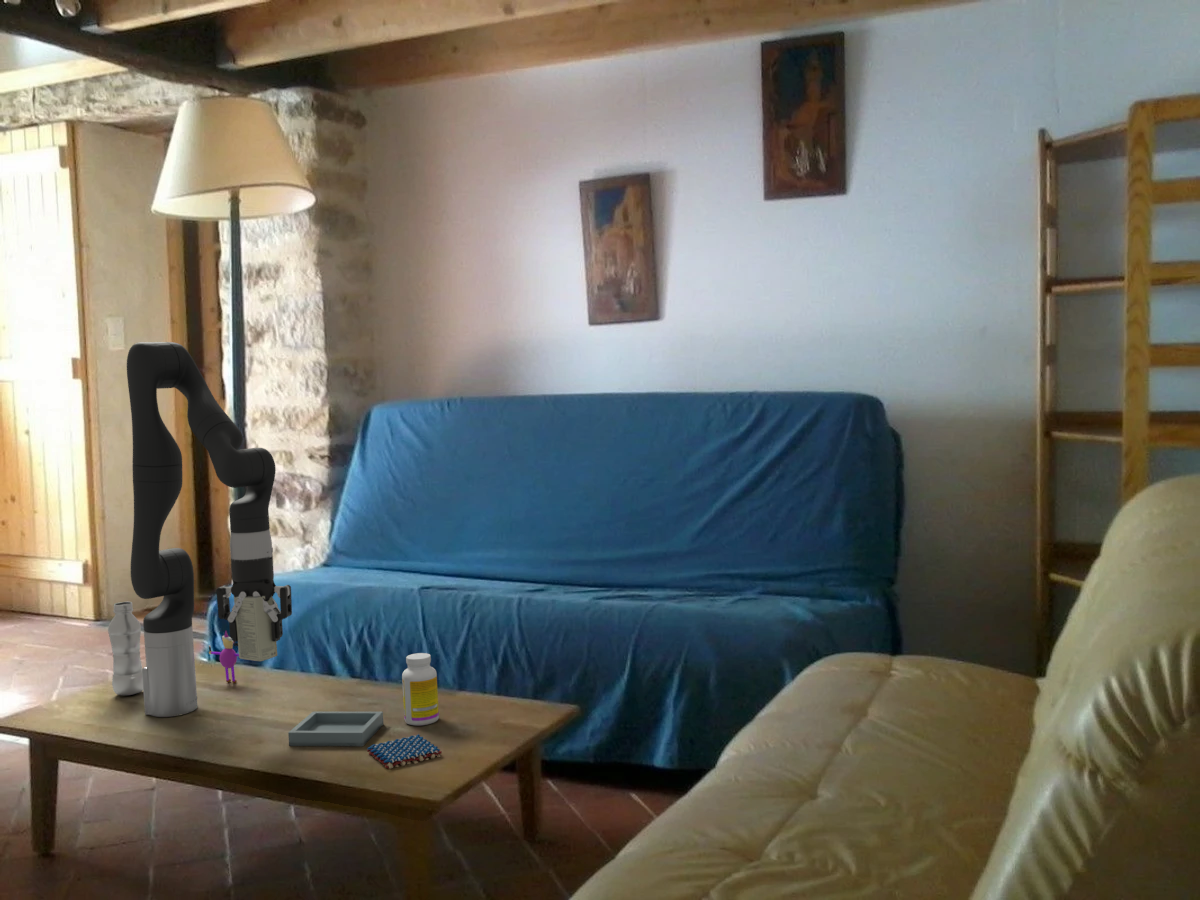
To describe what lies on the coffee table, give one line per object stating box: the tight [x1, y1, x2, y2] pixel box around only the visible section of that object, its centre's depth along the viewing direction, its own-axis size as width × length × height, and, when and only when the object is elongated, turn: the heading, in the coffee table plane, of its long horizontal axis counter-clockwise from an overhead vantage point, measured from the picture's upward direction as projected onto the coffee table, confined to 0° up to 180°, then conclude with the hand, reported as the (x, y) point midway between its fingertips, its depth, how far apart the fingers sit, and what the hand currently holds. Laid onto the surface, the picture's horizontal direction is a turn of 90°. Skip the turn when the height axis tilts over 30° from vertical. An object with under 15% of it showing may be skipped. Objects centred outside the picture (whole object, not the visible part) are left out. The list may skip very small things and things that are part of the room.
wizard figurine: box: [208, 630, 239, 684], centre depth 239 cm, size 11×3×12 cm, turn 66°
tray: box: [287, 711, 385, 747], centre depth 202 cm, size 14×12×2 cm
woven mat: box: [366, 733, 443, 769], centre depth 191 cm, size 10×11×2 cm
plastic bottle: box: [107, 601, 143, 696], centre depth 233 cm, size 6×7×20 cm
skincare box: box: [233, 596, 278, 662], centre depth 203 cm, size 6×4×12 cm
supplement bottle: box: [401, 652, 440, 727], centre depth 208 cm, size 7×7×13 cm
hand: (256, 640), depth 204 cm, fingers closed on skincare box, 7 cm apart
